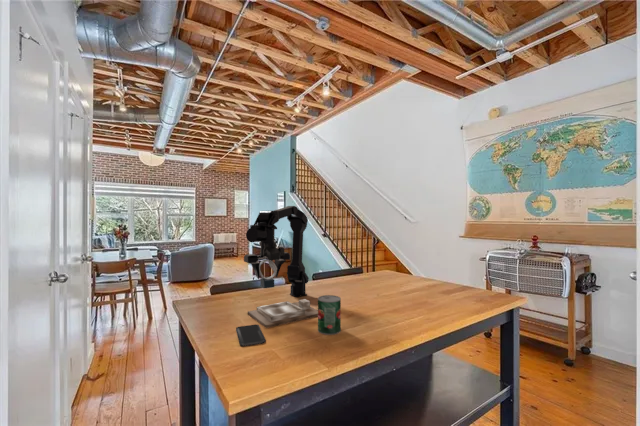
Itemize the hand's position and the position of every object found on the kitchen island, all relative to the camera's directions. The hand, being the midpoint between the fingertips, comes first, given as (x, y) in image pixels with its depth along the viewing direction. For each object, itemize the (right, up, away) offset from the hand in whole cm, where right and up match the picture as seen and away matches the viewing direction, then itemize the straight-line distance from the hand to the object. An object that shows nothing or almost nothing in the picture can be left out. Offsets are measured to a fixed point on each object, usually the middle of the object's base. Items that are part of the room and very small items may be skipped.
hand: (267, 277), depth 126 cm
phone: (-1, -14, -27) cm, 31 cm away
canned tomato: (+25, -13, -23) cm, 37 cm away
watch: (0, -4, 0) cm, 4 cm away
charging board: (+8, -13, -7) cm, 17 cm away
